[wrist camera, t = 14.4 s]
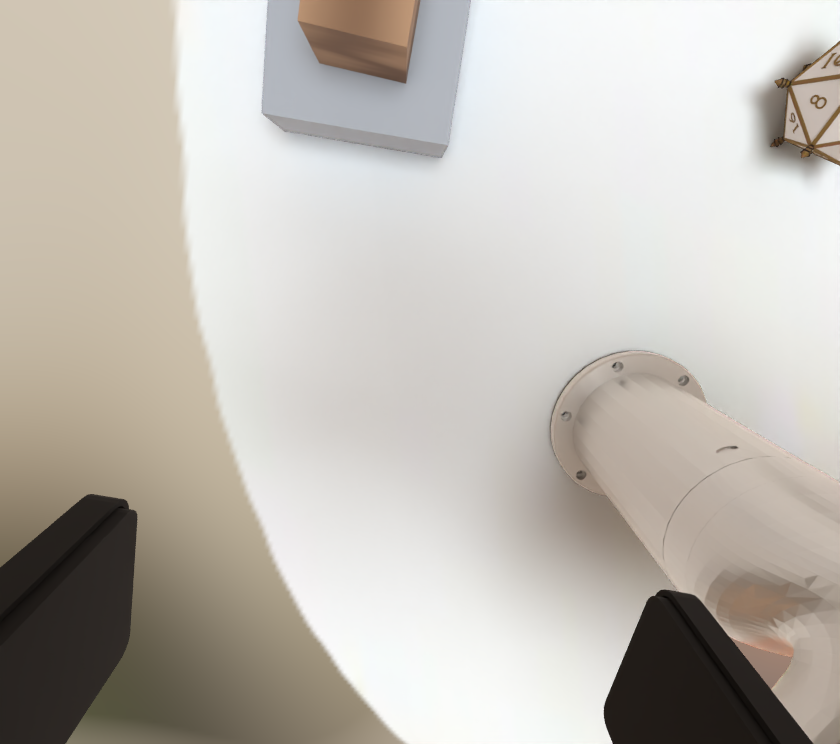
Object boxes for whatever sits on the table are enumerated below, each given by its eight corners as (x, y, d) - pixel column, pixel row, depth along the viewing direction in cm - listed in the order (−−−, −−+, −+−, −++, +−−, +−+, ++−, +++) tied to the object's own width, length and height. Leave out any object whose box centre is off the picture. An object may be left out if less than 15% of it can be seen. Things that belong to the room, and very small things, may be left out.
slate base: (468, -23, 32) (482, -78, 26) (441, 158, 35) (448, 145, 29) (298, -57, 31) (274, -120, 25) (285, 131, 34) (261, 113, 29)
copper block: (423, -17, 27) (428, -83, 21) (406, 83, 28) (406, 46, 23) (332, -40, 27) (312, -115, 21) (319, 63, 28) (297, 20, 22)
